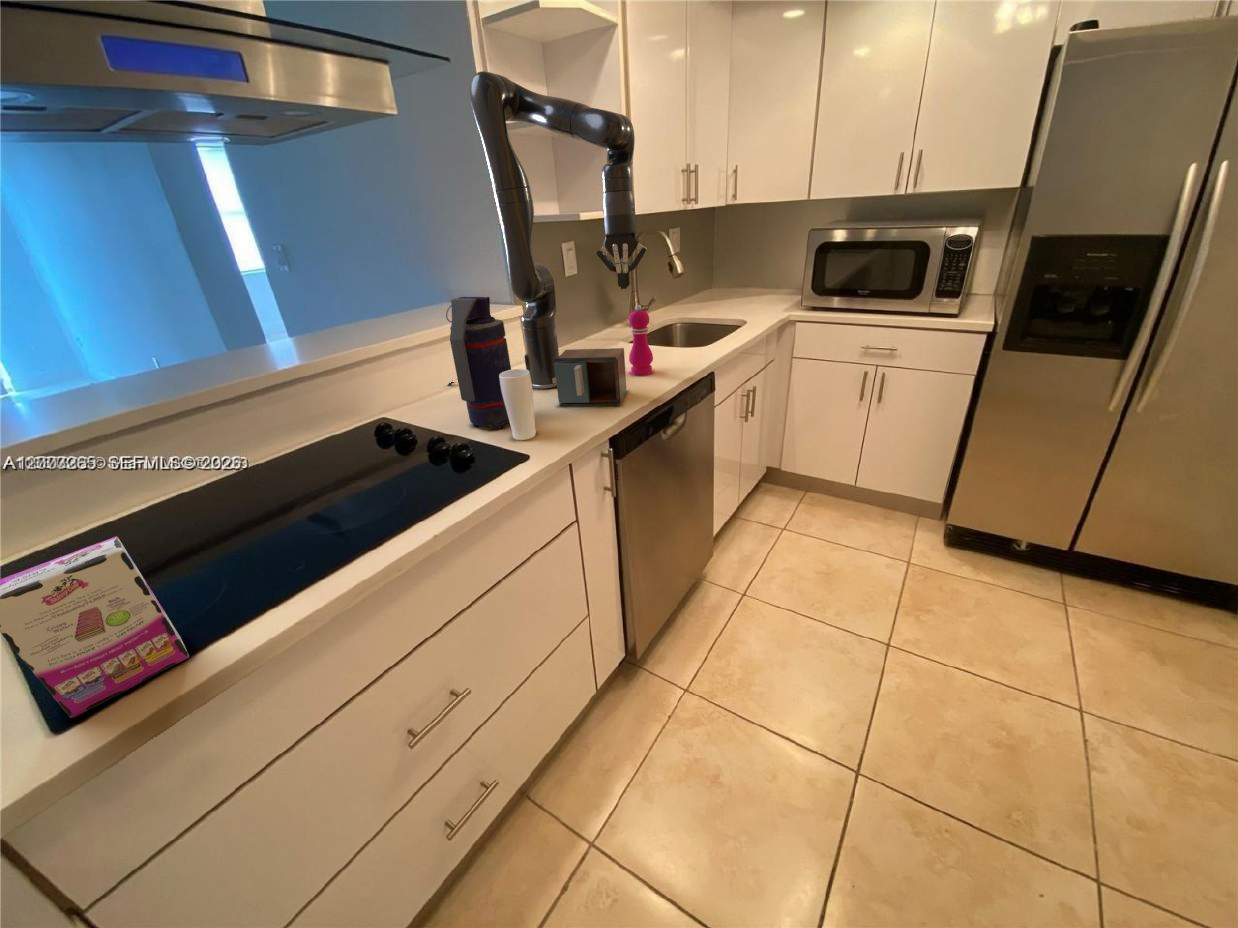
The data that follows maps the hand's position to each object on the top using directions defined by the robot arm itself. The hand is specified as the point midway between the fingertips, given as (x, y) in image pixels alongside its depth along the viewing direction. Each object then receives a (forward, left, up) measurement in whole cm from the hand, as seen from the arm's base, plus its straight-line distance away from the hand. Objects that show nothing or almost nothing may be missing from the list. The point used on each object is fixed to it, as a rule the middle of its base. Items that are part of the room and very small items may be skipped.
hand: (624, 288), depth 132 cm
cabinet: (-9, -6, -27) cm, 29 cm away
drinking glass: (-20, -32, -27) cm, 46 cm away
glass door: (-13, -14, -26) cm, 32 cm away
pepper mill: (+1, +16, -27) cm, 32 cm away
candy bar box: (-45, -103, -27) cm, 115 cm away
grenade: (-31, -24, -27) cm, 48 cm away
